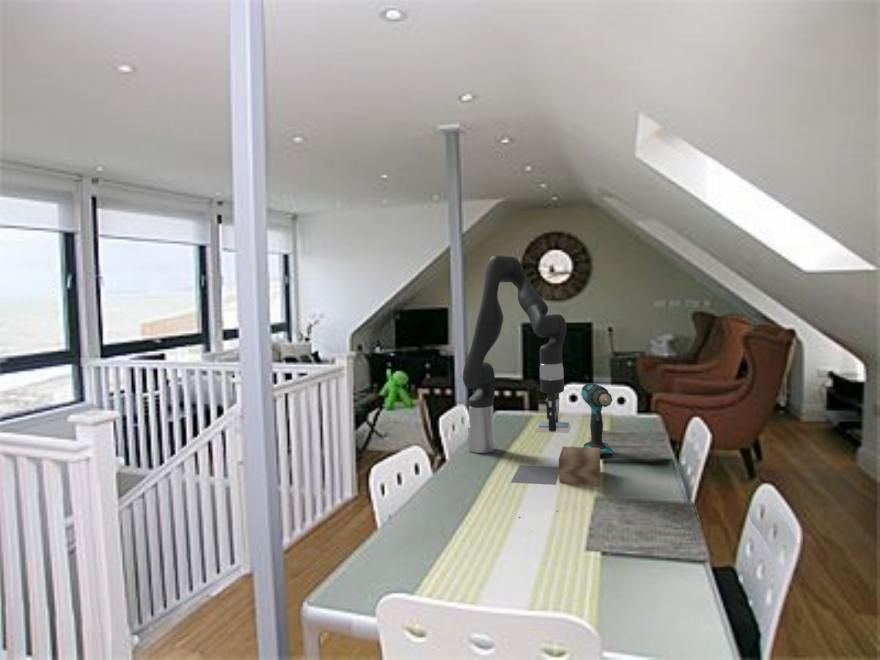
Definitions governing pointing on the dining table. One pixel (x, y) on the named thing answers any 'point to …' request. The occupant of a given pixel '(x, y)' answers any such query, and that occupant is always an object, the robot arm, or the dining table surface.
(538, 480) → the mat
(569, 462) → the walnut block
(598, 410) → the power drill
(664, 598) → the dining table surface
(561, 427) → the card box
